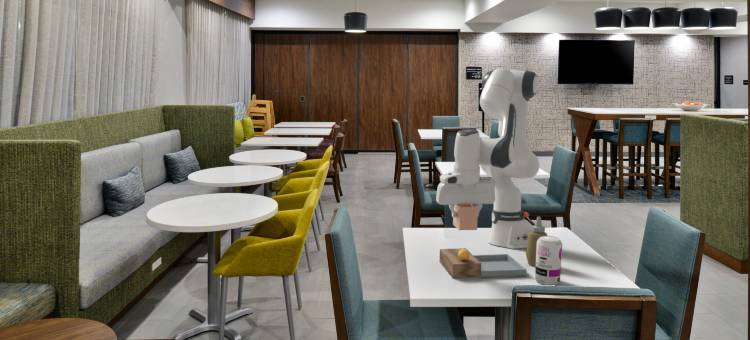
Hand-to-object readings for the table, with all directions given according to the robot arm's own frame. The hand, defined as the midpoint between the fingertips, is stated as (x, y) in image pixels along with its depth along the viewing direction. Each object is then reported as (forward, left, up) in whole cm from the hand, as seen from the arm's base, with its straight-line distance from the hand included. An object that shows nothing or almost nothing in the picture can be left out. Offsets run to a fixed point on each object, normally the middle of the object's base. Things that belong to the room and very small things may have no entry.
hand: (465, 216), depth 197 cm
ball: (0, 0, -14) cm, 14 cm away
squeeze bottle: (-30, -7, -21) cm, 37 cm away
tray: (-13, -4, -21) cm, 25 cm away
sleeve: (0, 0, -4) cm, 4 cm away
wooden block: (0, -5, -21) cm, 21 cm away
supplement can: (-26, +11, -21) cm, 35 cm away
